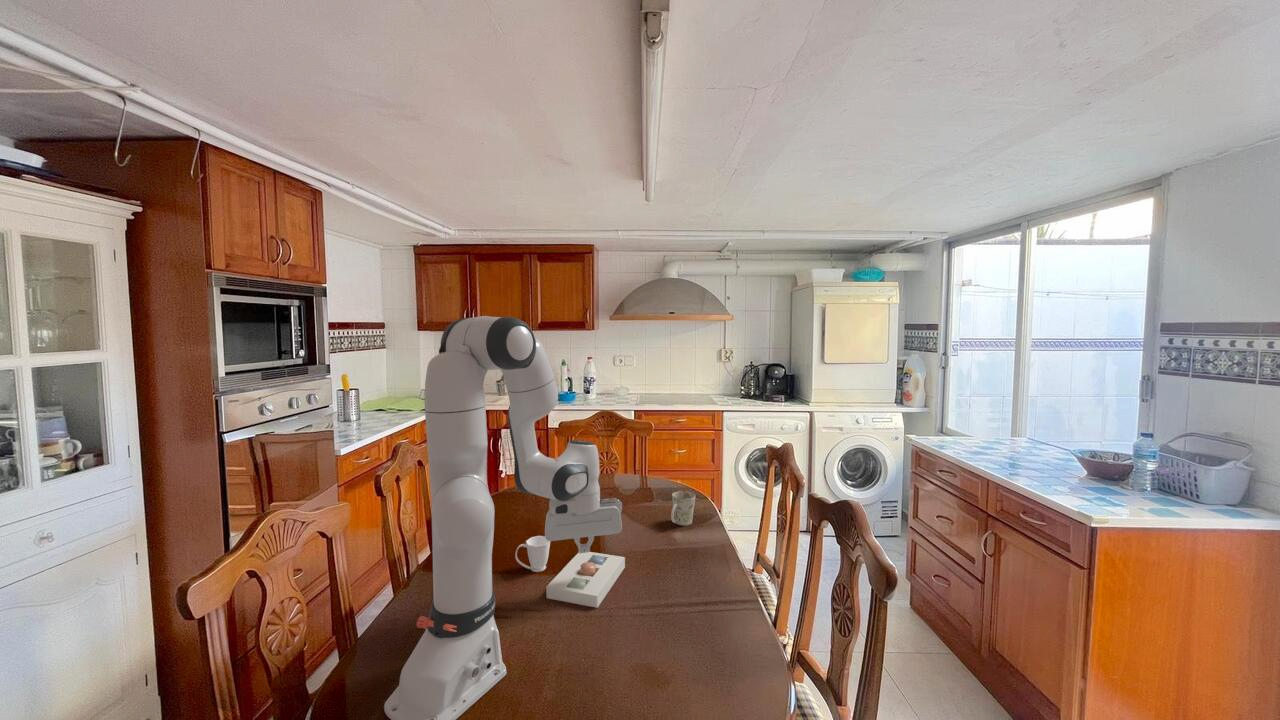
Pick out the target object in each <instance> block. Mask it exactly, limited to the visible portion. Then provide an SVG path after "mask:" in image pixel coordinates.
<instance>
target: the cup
mask: <svg viewBox="0 0 1280 720" xmlns="http://www.w3.org/2000/svg"><path fill="white" fill-rule="evenodd" d="M521 547H523V548H526V551H527V556H528V557H527V558H528V560H529V563H530V564H529V565H530V566H529V565H527V564H525V563H523V562H522V561H520V559H519V558H518V550H519V549H520V548H521ZM550 547H551V541H548V540H547V539H546V538H545V535H544V536H543V535H536V536H531V537H530V538H528V539H526V541H525V543H522V544H519V545H518V546H517V548H516V551H515V555H514V557H515V560H516V562H517V563H518V564H519V565H520V566H522V567H524V568H525V569H528V570H531V571H532V572H534V573H535V572H536V573H540V572H543V571H544V570H546V569H547V563H548V559H549V554H550Z"/></svg>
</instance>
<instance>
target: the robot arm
mask: <svg viewBox="0 0 1280 720" xmlns="http://www.w3.org/2000/svg"><path fill="white" fill-rule="evenodd" d="M439 346H440V347H439V349H438V354H437V355H435V356H434V357H432V358H431V359H430V361H428V364H427V367H426V368H427V369H426V373H425V382H424V416H425V417H424V419H425V431H426V432H425V433H426V445H427V458H428V459H427V460H428V468H429V469H428V472H429V484H430V485H429V486H430V501H431V505H430V506H431V538H432V540H431V541H432V542H431V543H432V544H431V545H432V582H433V583H432V585H433V586H432V587H433V588H432V589H433V591H432V592H433V601H432V603H431V606H430V609H429V614H428V617H427V616H426V615H425V616H424V615H421V616H419V617H418V618H417V621H416V627H417V628H418V629H424V630H425V631H424V633H423V634H422V636H421V638H419V640H418V642H417V644H416V645H415V647H414V649H413V651H412V653H410V656H409V658H408V659H407V660H406V662H405V664H404V665H403V667H402V669H401V672H400V674H399V675H400V676H399V684H398V686H397V687H396V688H395V690H394V691H392V694H390V695H389V697H388V698H387V700H386V701H385V702H384V706H383V710H384V713H385V715H386V716H387V718H389V719H390V720H457V719H458V718H460V716H462V715H463V714H464V713H465V712H466V711H467V710H469V708H470V707H472V706H473V705H474V704H475V703H477V701H478V700H480V698H482V697H483V696H484V695H485V694H486V693H488V692H489V690H491V689H492V688H493V687H494V686H495V685H497V684H498V682H500V681H501V680H502V679H503V678H504V677H505V676H506V675H507V667H506V664H505V663H504V662H503V655H502V649H501V640H500V632H499V629H498V626H497V623H496V619H495V616H494V614H495V610H496V598H495V597H496V596H495V591H494V590H493V556H492V555H493V547H494V534H495V504H494V501H493V498H492V496H491V493H490V489H489V486H488V474H487V473H488V472H487V471H488V470H487V469H488V465H487V463H488V445H489V444H488V442H489V441H488V427H487V411H486V395H485V388H484V382H485V378H486V374H487V373H488V371H491V370H492V371H493V370H494V371H495V370H500V371H501V373H502V375H503V380H504V384H505V387H506V392H507V394H508V399H509V406H508V409H507V422H508V424H507V425H508V428H509V435H510V441H511V448H512V451H513V452H512V453H513V457H514V459H513V460H514V474H513V475H514V476H513V477H514V478H513V479H514V483H515V486H516V487H517V489H518V490H519V491H520V492H522V493H523V494H529V495H534V496H539V497H542V498H545V499H550V500H549V503H548V504H549V505H548V507H549V509H548V511H547V513H546V516H545V525H544V536H545V538H546V539H547V540H548V541H550V542H556V541H563V540H570V539H571V540H573V541H574V543H575V544H576V546H577V548H578V550H577V551H578V552H579V553H587V552H591V546H592V544H593V542H594V540H595V537H598V536H608V535H614V534H615V535H616V534H620V533H621V532H622V530H623V524H622V516H621V513H622V511H623V503H622V501H621V500H620V499H618V498H617V497H611V498H601V487H600V484H599V477H600V474H601V473H600V456H599V450H598V446H597V445H596V444H595V443H594V442H592V441H589V440H588V441H587V440H580V439H578V440H577V439H575V440H570V441H568V442H567V445H566V448H565V450H564V451H563V452H562V453H561V454H560V455H559V456H558V457H556V458H553V457H549V456H546V455H544V454H543V453H541V451H540V450H539V448H538V441H537V436H536V430H535V424H536V422H537V421H539V420H541V419H543V418H545V417H546V416H548V415H549V414H550V413H552V411H553V410H554V408H555V407H556V405H557V403H558V401H559V389H558V386H557V380H556V377H555V374H554V370H553V367H552V364H551V362H550V359H549V357H548V354H547V352H546V349H545V348H544V345H543V344H542V342H541V341H540V340H539V339H538V337H535V334H534V332H533V330H532V329H531V327H530V325H529V324H527V323H526V322H525V321H524V320H522V319H519V318H516V317H511V316H501V317H500V316H489V315H482V316H481V315H479V316H475V317H464V318H460V319H456V320H455V321H453V322H451V323H449V325H446V328H445V329H444V331H443V332H442V335H441V338H440V345H439ZM581 538H587V539H588V540H587V542H586V543H582V544H581Z"/></svg>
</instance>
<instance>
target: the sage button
mask: <svg viewBox="0 0 1280 720" xmlns="http://www.w3.org/2000/svg"><path fill="white" fill-rule="evenodd" d="M585 586H586V581H585V580H584V579H582V578H576V579H573V580H571V582H570V588H576V589H581V590H583V589H584V587H585Z"/></svg>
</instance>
